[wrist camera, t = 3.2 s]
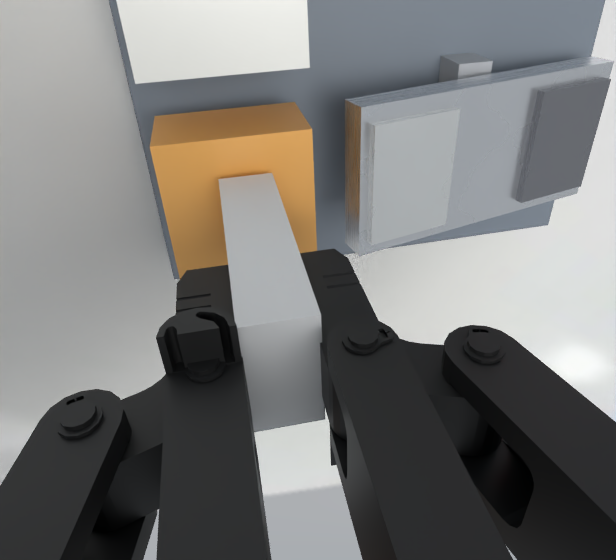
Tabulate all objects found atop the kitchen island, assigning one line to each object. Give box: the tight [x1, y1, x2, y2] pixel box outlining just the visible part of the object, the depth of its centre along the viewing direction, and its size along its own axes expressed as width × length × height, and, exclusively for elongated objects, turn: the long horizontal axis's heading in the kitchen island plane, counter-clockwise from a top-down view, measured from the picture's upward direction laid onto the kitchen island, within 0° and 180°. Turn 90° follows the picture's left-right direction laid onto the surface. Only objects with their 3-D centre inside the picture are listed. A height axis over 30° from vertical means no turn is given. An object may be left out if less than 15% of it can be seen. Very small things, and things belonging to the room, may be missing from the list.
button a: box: [150, 102, 317, 279], centre depth 16 cm, size 4×4×3 cm
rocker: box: [345, 56, 614, 256], centre depth 18 cm, size 10×5×1 cm, turn 93°
